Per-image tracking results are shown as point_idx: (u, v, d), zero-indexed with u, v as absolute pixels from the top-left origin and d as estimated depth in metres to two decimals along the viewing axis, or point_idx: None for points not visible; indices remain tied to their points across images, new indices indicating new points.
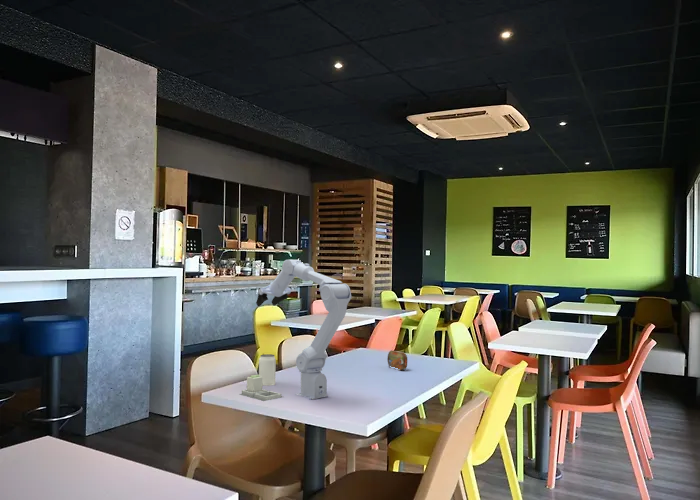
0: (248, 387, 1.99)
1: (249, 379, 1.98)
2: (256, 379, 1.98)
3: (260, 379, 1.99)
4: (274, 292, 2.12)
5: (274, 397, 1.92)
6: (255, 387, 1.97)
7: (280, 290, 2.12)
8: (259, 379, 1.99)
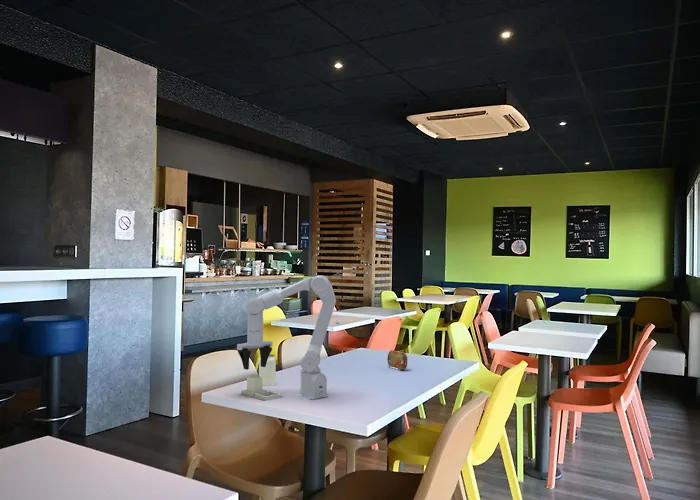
0: (248, 387, 1.99)
1: (249, 379, 1.98)
2: (256, 379, 1.98)
3: (260, 379, 1.99)
4: (253, 342, 1.97)
5: (274, 397, 1.92)
6: (255, 387, 1.97)
7: (257, 336, 1.98)
8: (259, 379, 1.99)
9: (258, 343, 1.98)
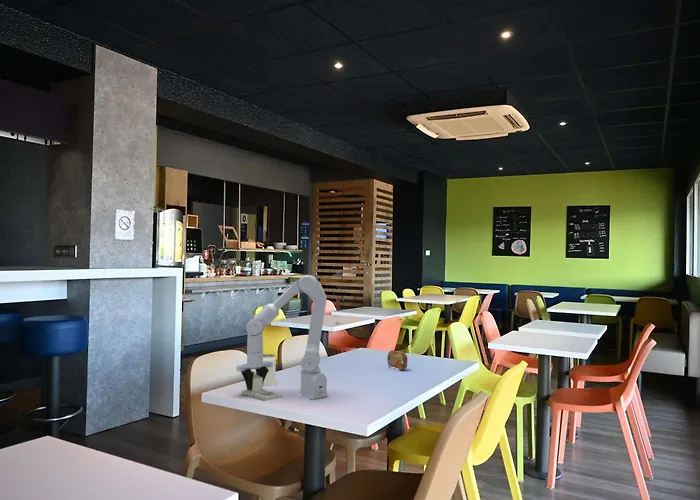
0: None
1: None
2: (256, 379, 1.98)
3: (260, 379, 1.99)
4: (253, 363, 1.97)
5: (274, 397, 1.92)
6: (255, 387, 1.97)
7: (257, 357, 1.97)
8: (259, 379, 1.99)
9: (258, 364, 1.97)
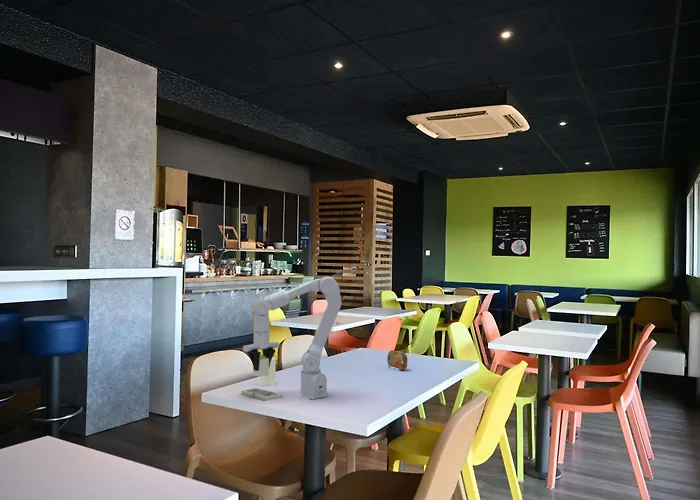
0: None
1: None
2: (262, 360, 1.95)
3: (266, 360, 1.97)
4: (259, 343, 1.95)
5: (274, 397, 1.92)
6: (261, 367, 1.95)
7: (263, 337, 1.95)
8: (265, 360, 1.96)
9: (264, 344, 1.95)
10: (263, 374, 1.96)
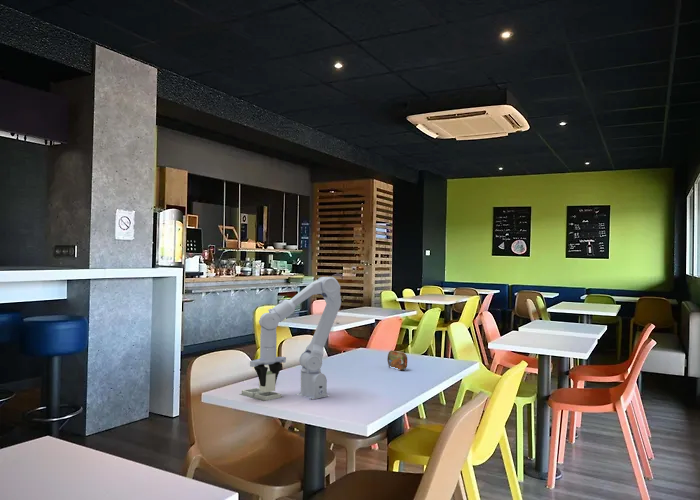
0: None
1: None
2: (269, 375, 1.92)
3: (273, 375, 1.94)
4: (266, 358, 1.91)
5: (274, 397, 1.92)
6: (268, 383, 1.92)
7: (270, 352, 1.92)
8: (272, 375, 1.93)
9: (271, 359, 1.92)
10: (270, 390, 1.92)
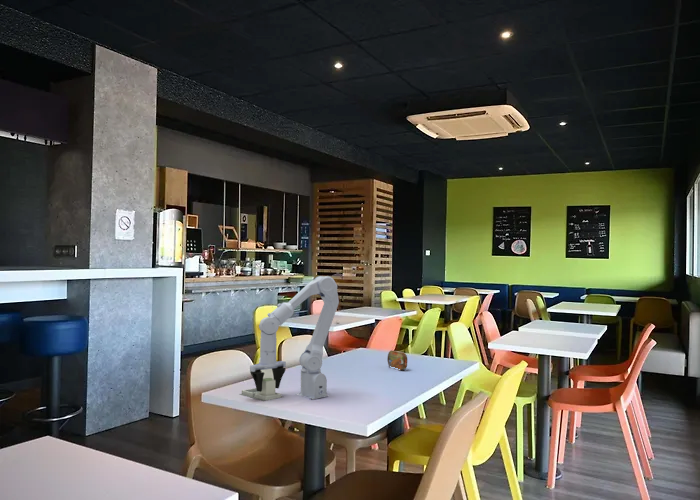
0: None
1: (262, 382, 1.93)
2: (269, 382, 1.92)
3: (273, 382, 1.94)
4: (266, 363, 1.91)
5: (274, 397, 1.92)
6: (268, 390, 1.92)
7: (270, 356, 1.92)
8: (272, 382, 1.93)
9: (271, 364, 1.92)
10: None
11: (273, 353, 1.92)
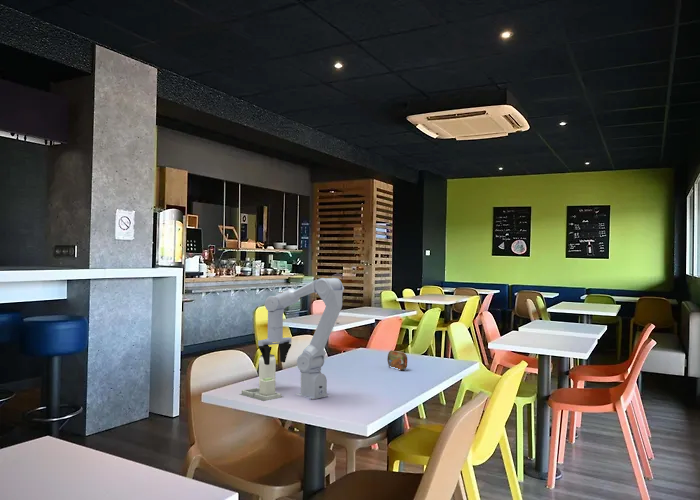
0: (261, 390, 1.93)
1: (262, 382, 1.93)
2: (269, 382, 1.92)
3: (273, 382, 1.94)
4: (273, 338, 2.05)
5: (274, 397, 1.92)
6: (268, 390, 1.92)
7: (277, 332, 2.06)
8: (272, 382, 1.93)
9: (278, 339, 2.06)
10: None
11: (280, 329, 2.06)
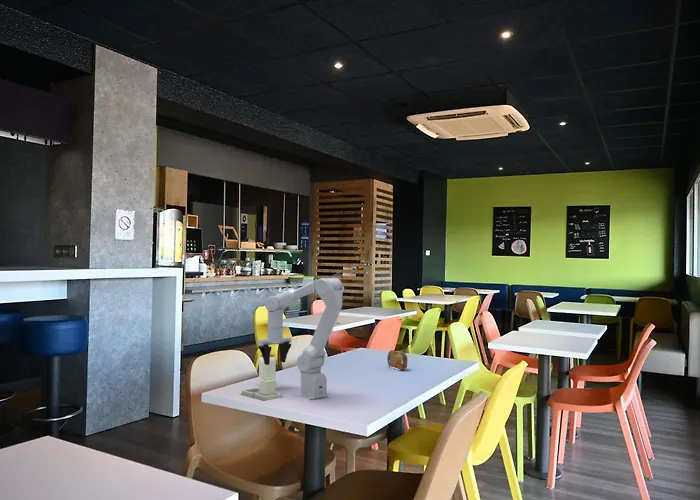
0: (261, 390, 1.93)
1: (262, 382, 1.93)
2: (269, 382, 1.92)
3: (273, 382, 1.94)
4: (273, 338, 2.05)
5: (274, 397, 1.92)
6: (268, 390, 1.92)
7: (277, 332, 2.06)
8: (272, 382, 1.93)
9: (278, 339, 2.06)
10: None
11: (280, 329, 2.06)
